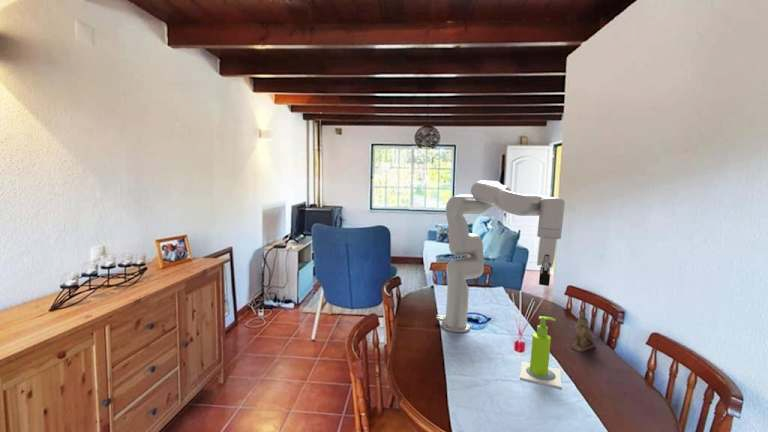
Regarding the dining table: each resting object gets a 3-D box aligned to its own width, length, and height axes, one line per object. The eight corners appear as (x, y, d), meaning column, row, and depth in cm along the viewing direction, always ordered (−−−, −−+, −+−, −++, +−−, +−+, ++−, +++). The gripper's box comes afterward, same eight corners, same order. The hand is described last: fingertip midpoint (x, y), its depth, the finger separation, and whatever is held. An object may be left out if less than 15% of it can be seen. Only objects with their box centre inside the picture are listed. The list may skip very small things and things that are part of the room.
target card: (519, 379, 130) (519, 377, 130) (521, 362, 142) (522, 360, 142) (561, 388, 125) (561, 386, 125) (560, 370, 137) (560, 369, 137)
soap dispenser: (552, 377, 131) (557, 321, 129) (531, 375, 132) (536, 318, 130) (548, 369, 136) (553, 315, 134) (528, 366, 138) (533, 313, 136)
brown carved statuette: (580, 357, 154) (580, 317, 150) (568, 352, 159) (567, 312, 155) (597, 346, 160) (597, 307, 156) (585, 341, 165) (584, 302, 161)
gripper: (538, 228, 141) (533, 274, 143) (536, 235, 125) (531, 286, 127) (560, 231, 138) (555, 277, 140) (562, 237, 122) (556, 290, 124)
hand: (544, 281), depth 133 cm, fingers open, 9 cm apart
